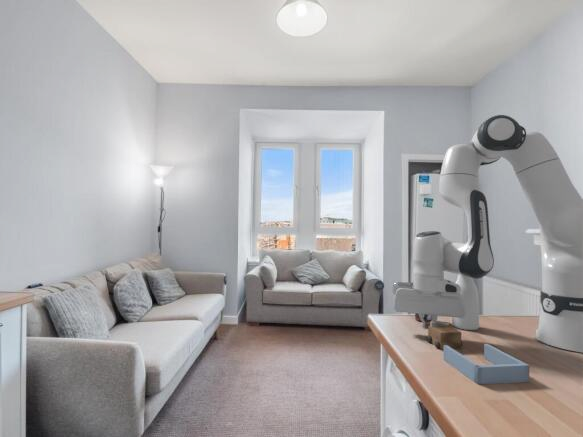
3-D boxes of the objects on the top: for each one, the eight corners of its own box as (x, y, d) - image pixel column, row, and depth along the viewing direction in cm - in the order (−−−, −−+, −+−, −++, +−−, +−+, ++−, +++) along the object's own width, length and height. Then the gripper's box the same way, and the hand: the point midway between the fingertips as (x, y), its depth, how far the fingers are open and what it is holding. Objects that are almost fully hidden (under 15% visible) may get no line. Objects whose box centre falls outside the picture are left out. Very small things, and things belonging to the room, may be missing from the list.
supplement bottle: (435, 323, 105) (435, 290, 105) (416, 322, 106) (416, 289, 106) (430, 318, 111) (430, 287, 111) (413, 317, 112) (413, 286, 112)
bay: (487, 357, 78) (487, 343, 78) (529, 381, 66) (529, 365, 66) (443, 359, 76) (443, 345, 76) (477, 384, 64) (477, 367, 65)
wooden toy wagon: (449, 340, 89) (449, 321, 89) (462, 348, 83) (462, 328, 83) (426, 341, 89) (426, 322, 89) (438, 349, 83) (438, 329, 83)
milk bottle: (483, 331, 97) (482, 268, 98) (457, 330, 98) (456, 268, 99) (473, 324, 105) (472, 265, 105) (449, 322, 106) (448, 265, 107)
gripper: (392, 283, 95) (392, 327, 95) (467, 288, 88) (467, 336, 88) (392, 279, 101) (392, 321, 101) (462, 284, 94) (462, 329, 94)
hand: (427, 328), depth 94 cm, fingers closed
